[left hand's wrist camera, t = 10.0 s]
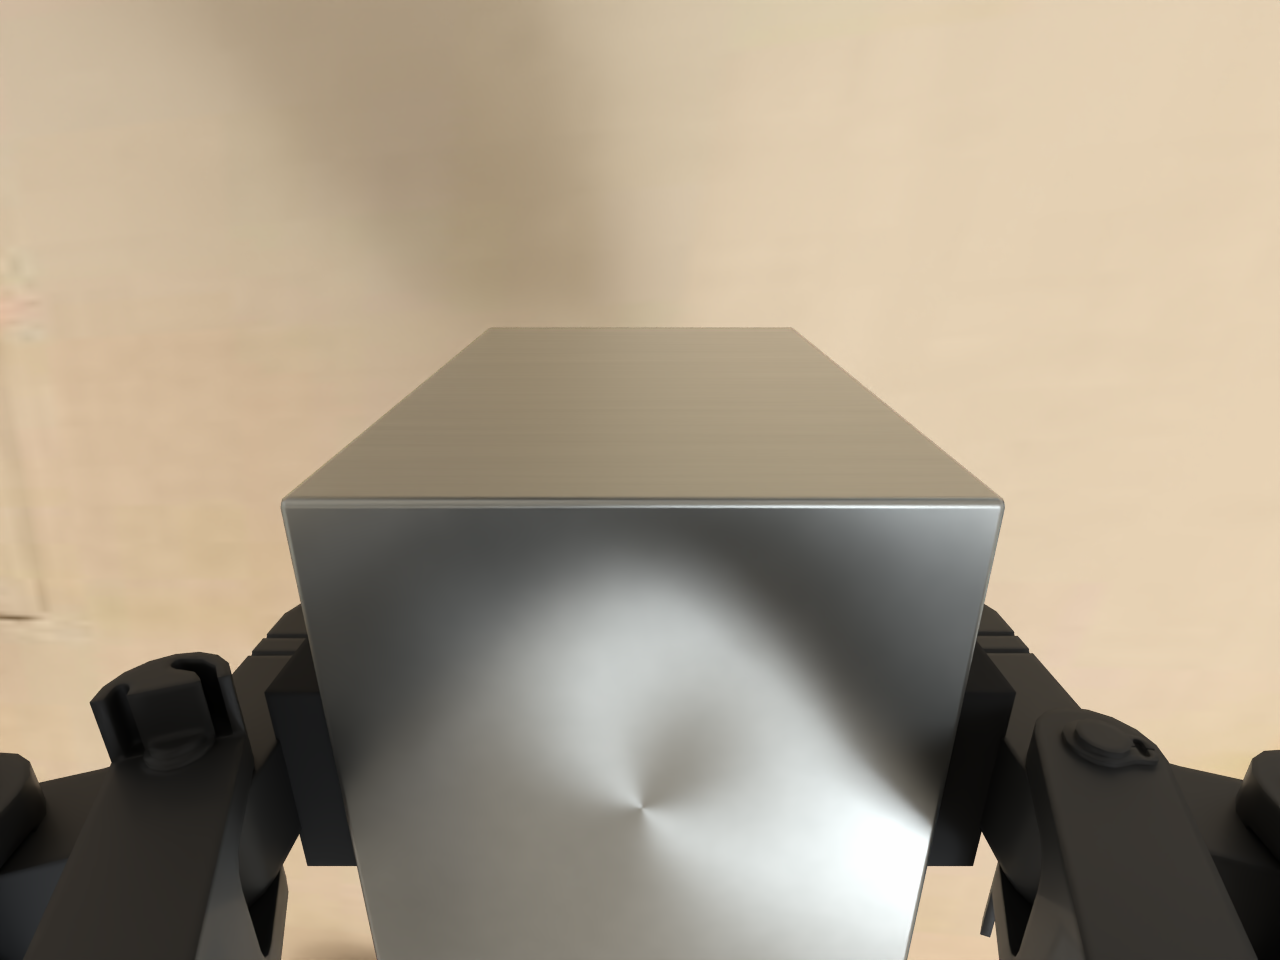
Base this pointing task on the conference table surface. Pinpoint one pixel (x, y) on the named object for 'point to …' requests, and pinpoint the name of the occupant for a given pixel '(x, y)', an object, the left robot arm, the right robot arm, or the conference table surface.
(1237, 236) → the conference table surface
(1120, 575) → the conference table surface
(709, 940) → the block
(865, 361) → the conference table surface
